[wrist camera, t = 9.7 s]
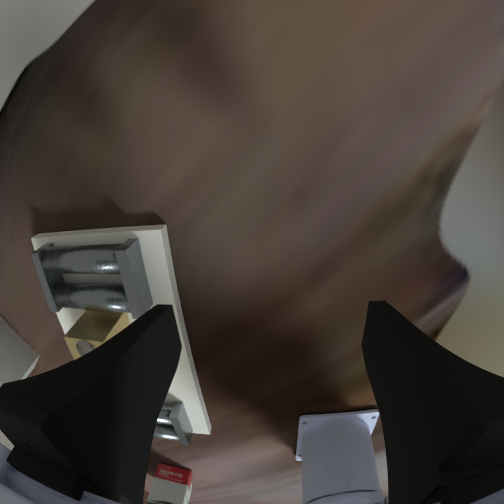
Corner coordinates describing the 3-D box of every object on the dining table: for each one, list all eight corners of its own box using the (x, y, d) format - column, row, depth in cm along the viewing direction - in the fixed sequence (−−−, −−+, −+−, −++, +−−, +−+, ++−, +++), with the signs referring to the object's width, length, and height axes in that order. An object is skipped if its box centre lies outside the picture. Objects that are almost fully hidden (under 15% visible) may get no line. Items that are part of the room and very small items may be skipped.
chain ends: (193, 430, 28) (189, 445, 26) (120, 418, 29) (114, 432, 27) (138, 238, 19) (125, 250, 18) (46, 243, 20) (31, 253, 18)
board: (211, 427, 29) (209, 434, 28) (112, 412, 30) (109, 418, 29) (166, 224, 20) (160, 229, 19) (38, 233, 21) (31, 238, 20)
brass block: (153, 389, 25) (140, 423, 22) (120, 384, 26) (104, 415, 22) (125, 309, 22) (102, 343, 18) (88, 307, 22) (63, 337, 18)
